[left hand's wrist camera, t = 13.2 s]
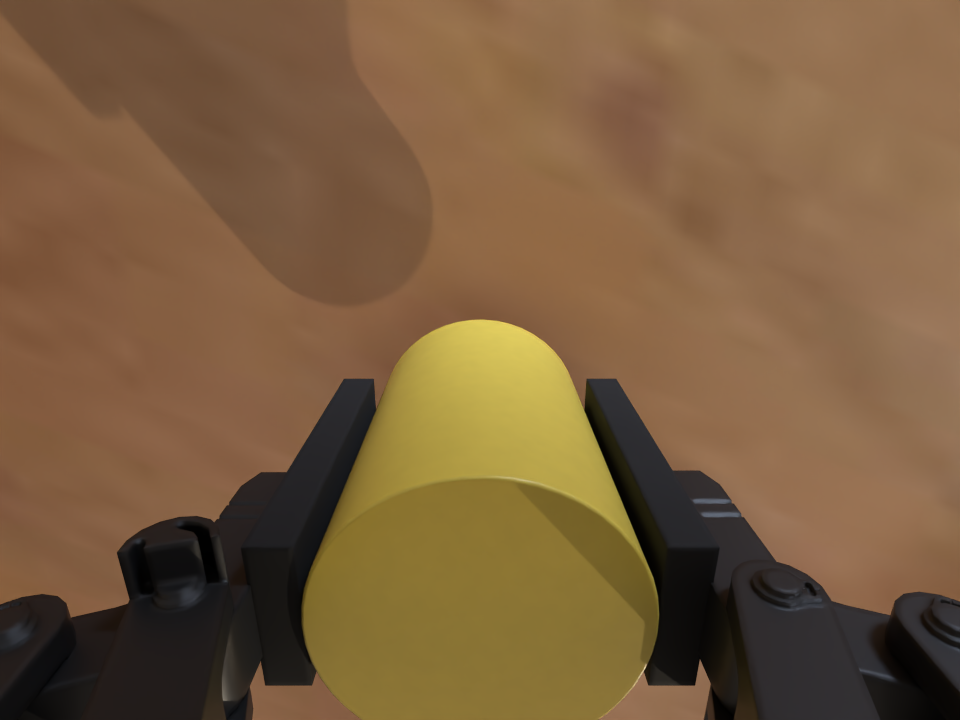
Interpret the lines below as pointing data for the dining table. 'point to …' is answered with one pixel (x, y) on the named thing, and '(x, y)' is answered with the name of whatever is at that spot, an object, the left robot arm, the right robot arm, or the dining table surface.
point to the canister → (480, 547)
